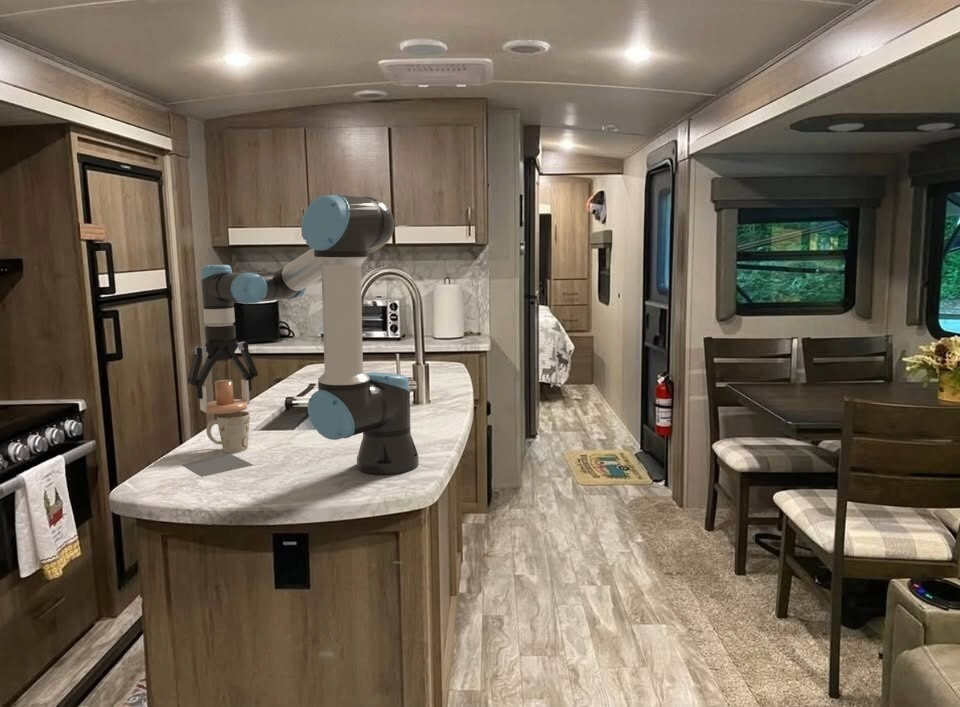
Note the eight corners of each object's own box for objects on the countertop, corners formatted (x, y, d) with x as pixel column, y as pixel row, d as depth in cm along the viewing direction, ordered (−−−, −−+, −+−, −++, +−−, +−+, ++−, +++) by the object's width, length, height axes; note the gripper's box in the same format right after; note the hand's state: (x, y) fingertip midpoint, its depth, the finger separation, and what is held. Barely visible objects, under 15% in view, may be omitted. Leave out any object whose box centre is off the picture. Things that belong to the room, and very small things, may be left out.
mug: (241, 456, 193) (239, 418, 192) (198, 454, 196) (195, 417, 194) (257, 447, 201) (255, 411, 200) (215, 445, 204) (213, 410, 202)
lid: (254, 409, 196) (252, 381, 195) (213, 415, 189) (211, 387, 188) (236, 402, 205) (234, 376, 203) (196, 409, 197) (194, 381, 196)
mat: (253, 466, 184) (253, 464, 184) (201, 478, 175) (201, 476, 175) (231, 456, 194) (231, 454, 194) (181, 466, 185) (181, 464, 185)
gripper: (255, 319, 204) (260, 398, 207) (169, 327, 189) (175, 411, 192) (268, 321, 198) (272, 402, 202) (180, 329, 183) (186, 416, 186)
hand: (225, 407), depth 197 cm, fingers closed on lid, 11 cm apart
